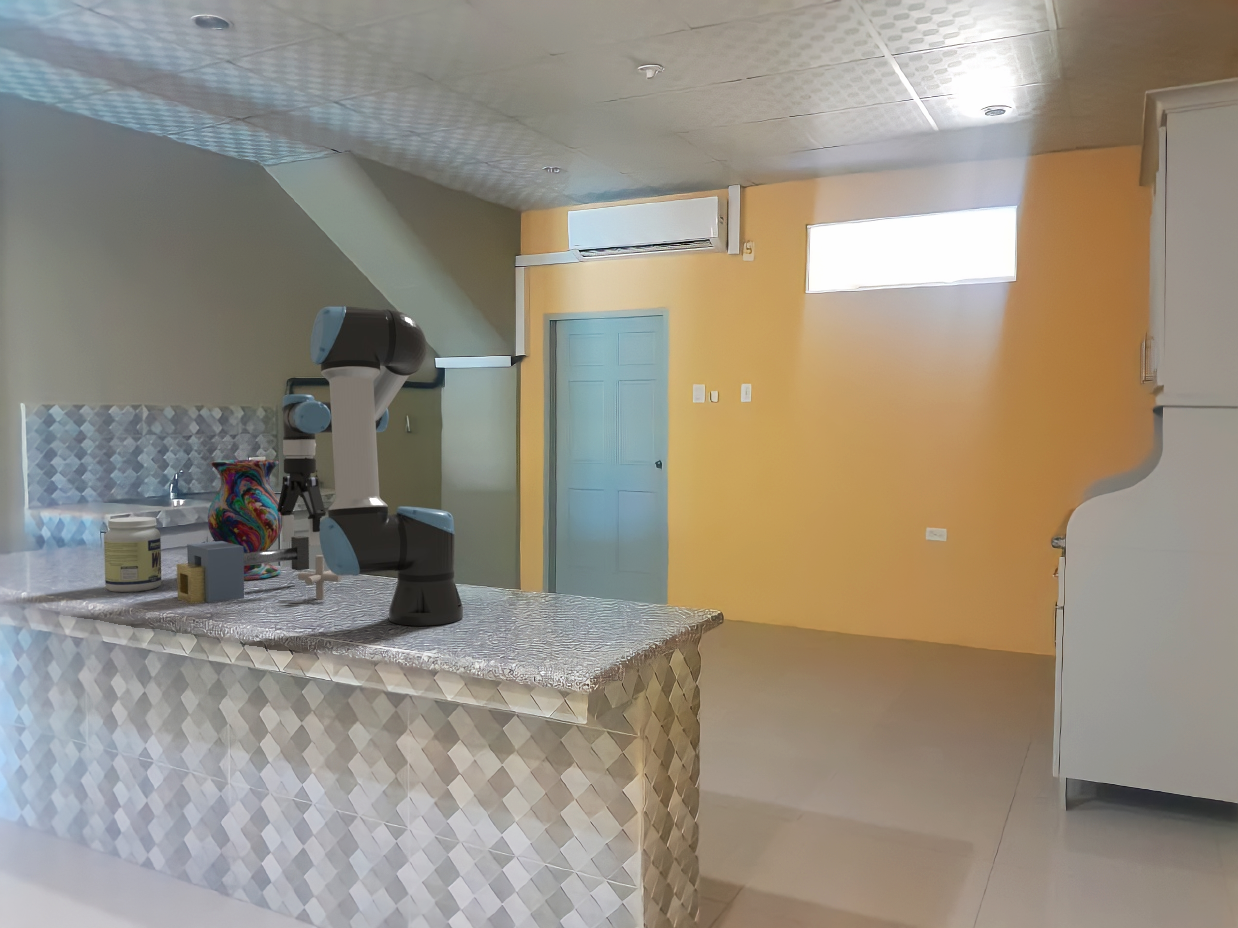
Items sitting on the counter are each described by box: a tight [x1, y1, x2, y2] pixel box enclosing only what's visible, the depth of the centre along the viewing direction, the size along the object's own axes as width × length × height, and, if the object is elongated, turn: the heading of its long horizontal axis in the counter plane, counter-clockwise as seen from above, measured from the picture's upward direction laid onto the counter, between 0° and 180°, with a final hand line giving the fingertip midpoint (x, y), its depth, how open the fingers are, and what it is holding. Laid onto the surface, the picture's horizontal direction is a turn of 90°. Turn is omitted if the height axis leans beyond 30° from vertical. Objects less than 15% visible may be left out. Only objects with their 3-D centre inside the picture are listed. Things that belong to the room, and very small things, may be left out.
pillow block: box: [186, 541, 245, 604], centre depth 216 cm, size 12×8×12 cm, turn 46°
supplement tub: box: [103, 516, 162, 593], centre depth 226 cm, size 12×12×17 cm
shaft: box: [244, 535, 310, 571], centre depth 224 cm, size 3×23×8 cm, turn 135°
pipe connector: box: [297, 554, 343, 601], centre depth 215 cm, size 10×10×10 cm
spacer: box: [176, 562, 206, 605], centre depth 213 cm, size 8×3×8 cm, turn 46°
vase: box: [207, 459, 283, 581], centre depth 243 cm, size 18×18×30 cm
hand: (301, 543), depth 231 cm, fingers open, 13 cm apart
